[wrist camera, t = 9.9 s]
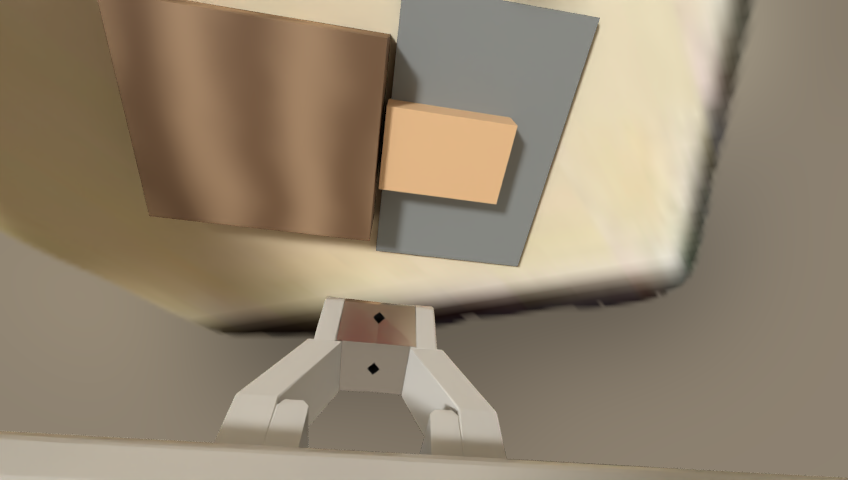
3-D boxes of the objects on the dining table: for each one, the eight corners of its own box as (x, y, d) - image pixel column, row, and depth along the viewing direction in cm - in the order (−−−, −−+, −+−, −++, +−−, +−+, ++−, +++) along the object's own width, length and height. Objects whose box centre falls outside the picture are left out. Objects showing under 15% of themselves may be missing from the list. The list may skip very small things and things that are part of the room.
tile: (380, 176, 31) (378, 188, 29) (388, 98, 28) (386, 106, 26) (490, 191, 31) (496, 204, 29) (510, 117, 28) (517, 125, 26)
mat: (376, 246, 35) (376, 250, 34) (403, -17, 25) (403, -18, 24) (515, 262, 36) (517, 266, 35) (596, 17, 26) (599, 17, 25)
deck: (178, 193, 32) (149, 216, 28) (139, -8, 24) (95, -11, 21) (373, 216, 33) (369, 240, 30) (390, 34, 26) (387, 38, 23)
